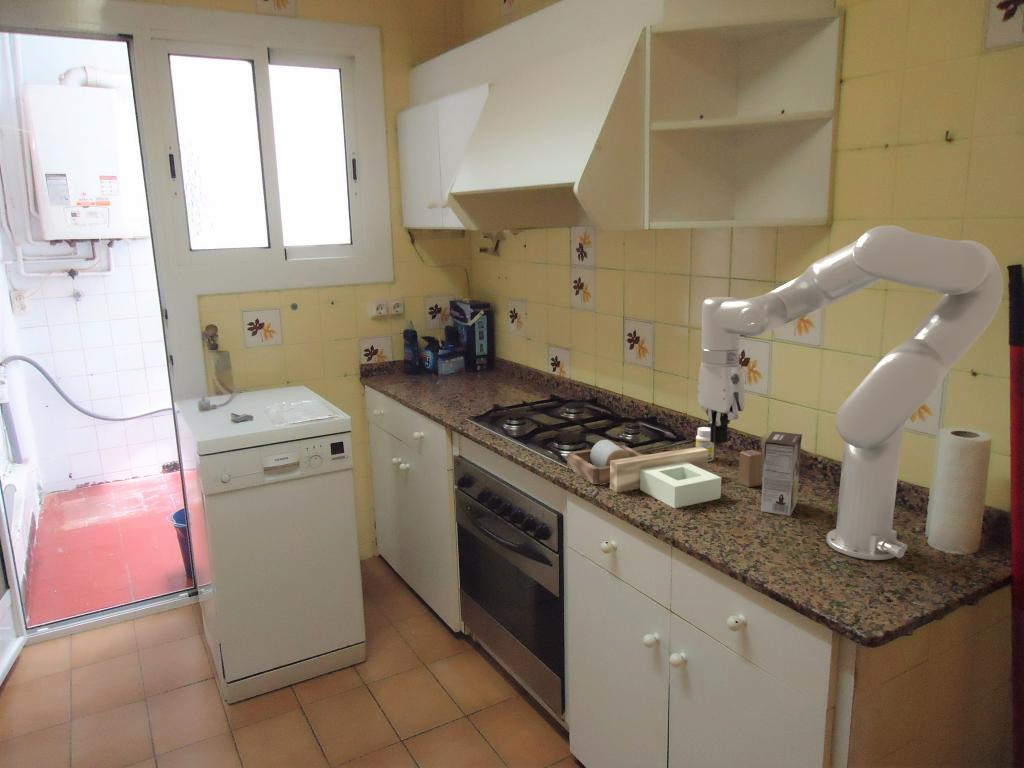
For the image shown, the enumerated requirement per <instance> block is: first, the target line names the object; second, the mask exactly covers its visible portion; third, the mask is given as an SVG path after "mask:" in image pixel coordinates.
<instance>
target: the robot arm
mask: <svg viewBox="0 0 1024 768" xmlns="http://www.w3.org/2000/svg"><path fill="white" fill-rule="evenodd" d="M882 281H887V282H892V283H895V284H900V285H904V286H908V287H912V288H917V289H922V290H925V291H929V292H934V293H937V294H942V296H941V298H940V299H939V301H937V303H936V304H935V306H934V307H933V308H932V310H930V312H928V314H926V316H925V317H924V319H923V320H922V321H921V322H920V324H918V326H917V327H916V328H915V329H914V330H913V331H912V333H910V334H909V335H908V337H907V338H906V339H904V340H903V342H901V343H900V344H899V345H897V346H895V347H894V348H893V349H891V350H889V352H888V353H886V354H884V356H883V357H882V358H881V359H880V360H879V362H878V363H877V364H875V366H874V367H873V368H872V369H871V371H869V373H868V374H867V375H866V376H865V377H864V378H863V380H862V381H861V382H860V383H859V384H858V385H857V387H856V388H854V390H853V391H852V392H851V393H850V395H849V396H847V398H846V399H845V400H844V401H843V402H842V404H841V405H840V407H839V408H838V410H837V412H836V415H835V416H836V417H835V427H836V431H837V433H838V435H839V436H840V438H841V439H842V441H844V445H843V453H842V460H841V462H842V463H841V471H840V480H839V481H840V482H839V494H838V505H837V516H836V527H835V528H834V529H831V530H830V531H829V532H827V534H826V543H827V545H829V547H830V548H831V549H832V550H835V551H836V552H838V553H840V554H843V555H846V556H849V557H851V558H856V559H861V560H869V561H886V560H889V559H894V558H895V557H896V558H898V559H901V558H903V557H904V555H905V552H906V551H907V550H908V544H906V543H904V542H901V541H899V540H898V539H897V536H898V531H897V530H894V529H893V523H894V514H895V513H894V512H895V505H896V504H895V503H896V495H897V488H898V487H897V485H898V477H899V469H900V468H899V467H900V461H901V452H902V446H903V445H902V444H903V439H904V435H905V429H906V422H907V421H908V420H909V419H910V418H911V417H913V416H914V414H915V413H916V412H917V411H918V410H919V409H920V408H921V407H922V406H923V405H924V403H926V401H927V400H928V399H929V398H930V397H931V396H932V395H933V394H934V392H936V391H937V389H938V388H939V386H940V385H941V384H942V382H943V381H944V379H945V377H946V376H947V374H948V372H949V371H950V370H951V369H952V368H953V366H954V365H956V363H957V362H958V361H959V360H960V359H961V358H962V357H963V356H964V355H965V354H966V353H967V351H969V349H970V348H971V346H972V345H973V344H974V343H975V342H976V341H977V340H978V339H979V338H980V337H981V336H982V334H984V332H985V331H986V329H988V327H989V325H990V324H991V322H993V319H994V318H995V316H996V315H997V313H998V311H999V308H1000V305H1001V303H1002V298H1003V293H1004V279H1003V273H1002V271H1001V267H1000V265H999V263H998V261H997V259H996V257H995V255H994V254H993V252H992V251H991V250H990V249H989V248H988V247H987V246H986V245H984V244H982V243H980V242H979V241H974V240H964V239H963V240H954V239H948V238H943V237H938V236H932V235H927V234H922V233H917V232H912V231H909V230H907V229H906V228H904V227H902V226H899V225H879V226H875V227H873V228H870V229H869V230H867V231H865V232H864V233H863V234H862V235H861V236H859V238H858V239H857V240H855V241H852V243H850V244H848V245H846V246H843V247H842V248H840V249H838V250H835V251H834V252H832V253H829V254H827V255H826V256H824V257H822V258H820V259H818V260H816V261H815V262H813V263H811V264H810V265H809V266H808V267H807V269H806V270H805V271H804V272H803V273H802V274H800V275H799V276H797V277H796V278H794V279H792V280H790V281H788V282H787V283H785V284H782V285H781V286H779V287H777V288H775V289H773V290H770V291H769V292H767V293H764V294H762V295H758V296H754V297H750V298H742V299H738V298H736V297H732V296H713V297H712V296H711V297H708V298H705V299H704V300H703V301H702V306H701V360H700V361H701V363H700V367H699V371H698V372H699V373H698V383H697V401H698V402H697V403H698V405H700V409H701V410H702V411H703V412H704V413H705V414H706V416H707V419H708V423H709V424H710V426H709V428H710V442H712V443H714V445H718V444H719V445H720V444H723V443H727V442H728V428H729V427H728V425H730V423H731V421H735V420H738V419H739V417H740V416H739V412H743V411H744V410H745V406H746V405H745V404H746V403H745V401H746V399H745V398H746V397H745V381H744V380H745V379H744V373H743V368H742V364H740V339H741V338H740V337H741V336H747V337H759V336H762V335H764V334H767V333H769V332H772V331H775V330H777V329H779V328H782V327H784V326H785V325H788V324H791V322H794V321H796V320H798V319H800V318H803V317H805V316H807V315H808V314H811V313H813V312H815V311H817V310H819V309H822V308H824V307H825V308H826V307H828V306H832V305H833V304H836V303H837V302H839V301H842V300H844V299H846V298H848V297H850V296H852V295H854V294H856V293H859V292H861V291H863V290H865V289H867V288H869V287H871V286H874V285H875V284H878V283H880V282H882Z"/></svg>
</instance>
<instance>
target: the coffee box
mask: <svg viewBox="0 0 1024 768" xmlns="http://www.w3.org/2000/svg"><path fill="white" fill-rule="evenodd" d="M802 437H803V434H802V433H793V432H792V433H791V432H783V431H774V430H773V431H771V433H770V434H769V436H768V437H767V438H766V440H765V442H764V453H763V470H762V484H761V485H762V486H761V490H762V491H761V504H760V506H761V507H760V511H761V512H764V513H771V514H776V515H781V516H789V517H791V516H792V513H793V511H794V510H795V508H796V505H797V502H798V495H799V494H798V493H799V480H800V466H801V465H800V464H801V451H802V440H803V439H802Z"/></svg>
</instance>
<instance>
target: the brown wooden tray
mask: <svg viewBox="0 0 1024 768" xmlns="http://www.w3.org/2000/svg"><path fill="white" fill-rule="evenodd" d="M616 445H617V444H616ZM617 446H618V447H620V448H622V449H623V450H624V451H625V452H626V453H627V454H628V456H629V458H630V457H637V456H643V455H644V454H642V453H640V452H638V451H636V450H634V449H632V448H630V447H628V446H627V445H624V444H623V445H617ZM591 450H592V448H591V449H584V450H577V451H572V452H570V453H567V455H566V456H567V458H566V459H567V460H566V461H567V462H566V463H567V464H566V466H569V467H570V468H571V469H572V470H573V471H575V472H577V473H578V474H579V475H581V476H582V477H584V478H585V479H587V480H588V481H590V482H591V483H593V484H594V483H599V484H603V483H610V466H604V467H598V468H597V467H595V466H594V465H592V464H590V463H592V462H591V458H590V454H591ZM588 462H589V463H588ZM599 484H598V485H599Z"/></svg>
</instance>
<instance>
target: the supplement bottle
mask: <svg viewBox="0 0 1024 768" xmlns="http://www.w3.org/2000/svg"><path fill="white" fill-rule="evenodd" d="M696 432H697V433H696V434H697V435H696V437H695V447H703V448H705V449H708V462H711V461H713V460H714V456H715V455H714V452H715V450H714V449H715V443H712V442H710V426H709V427H708V426H701V427H697V431H696Z"/></svg>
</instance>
